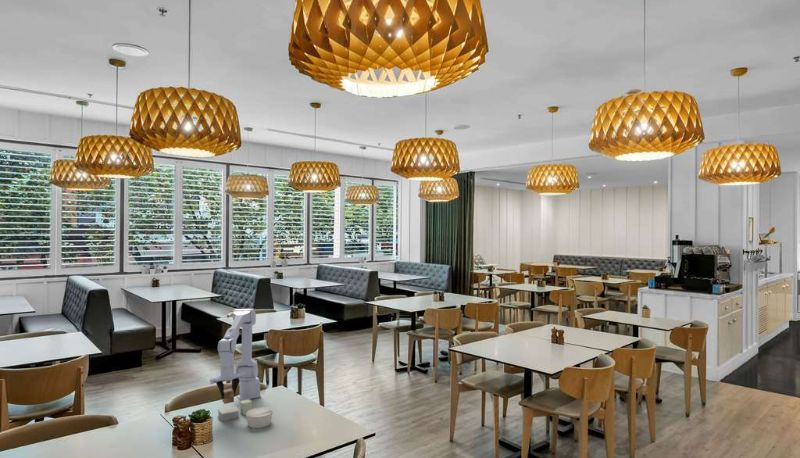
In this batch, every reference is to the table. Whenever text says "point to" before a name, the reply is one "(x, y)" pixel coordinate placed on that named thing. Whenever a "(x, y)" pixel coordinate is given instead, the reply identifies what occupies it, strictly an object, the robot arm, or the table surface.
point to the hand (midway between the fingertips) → (228, 397)
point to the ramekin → (259, 417)
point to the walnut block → (228, 396)
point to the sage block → (245, 406)
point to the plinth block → (228, 413)
